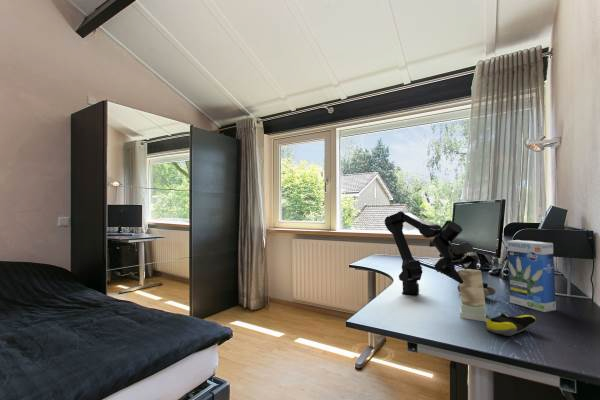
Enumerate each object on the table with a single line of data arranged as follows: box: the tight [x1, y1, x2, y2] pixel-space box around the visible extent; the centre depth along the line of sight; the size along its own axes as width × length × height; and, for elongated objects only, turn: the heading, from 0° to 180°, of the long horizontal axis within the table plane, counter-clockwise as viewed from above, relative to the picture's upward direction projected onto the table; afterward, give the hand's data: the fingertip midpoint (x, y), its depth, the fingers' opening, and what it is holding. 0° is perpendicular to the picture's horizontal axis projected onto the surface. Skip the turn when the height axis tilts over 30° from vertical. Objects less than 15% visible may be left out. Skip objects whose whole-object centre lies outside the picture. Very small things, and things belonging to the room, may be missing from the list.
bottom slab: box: [459, 309, 487, 322], centre depth 108 cm, size 8×8×2 cm
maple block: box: [457, 268, 486, 306], centre depth 109 cm, size 6×6×12 cm
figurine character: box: [457, 282, 497, 300], centre depth 131 cm, size 7×8×15 cm
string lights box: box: [506, 239, 557, 313], centre depth 117 cm, size 13×8×26 cm, turn 21°
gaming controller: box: [484, 312, 537, 337], centre depth 93 cm, size 15×6×10 cm
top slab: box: [460, 302, 487, 315], centre depth 108 cm, size 7×7×2 cm
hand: (471, 281), depth 109 cm, fingers open, 9 cm apart
